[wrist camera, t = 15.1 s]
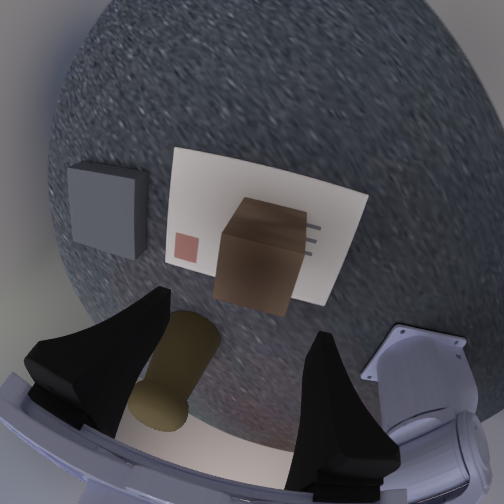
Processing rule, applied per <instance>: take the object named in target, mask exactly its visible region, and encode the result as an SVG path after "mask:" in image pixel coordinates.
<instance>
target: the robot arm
mask: <svg viewBox="0 0 504 504" xmlns="http://www.w3.org/2000/svg"><path fill="white" fill-rule="evenodd" d="M170 298H171V290H170V289H167V288H164V287H161V286H158V287H157V288H155V289H154V290H152V291H151V292H150V293H148V294H147V295H145V296H144V297H143V298H141V299H140V300H138V301H137V302H135V303H134V304H132V305H131V306H129V307H128V308H126V309H124V310H123V311H121V312H119V313H118V314H116V315H114V316H113V317H111V318H109V319H107V320H105V321H103V322H101V323H99V324H97V325H95V326H92V327H90V328H87V329H85V330H82V331H79V332H76V333H73V334H70V335H67V336H63V337H58V338H54V339H49V340H43V341H39V342H38V343H37V344H36V345H35V346H34V347H33V349H32V350H31V351H30V352H29V354H28V355H27V356H26V357H25V359H24V364H25V366H26V369H27V370H28V372H29V374H30V375H31V377H32V379H33V380H34V382H35V384H34V385H33V387H31V386H30V385H29V384H28V383H27V382H26V381H25V380H23V379H22V378H21V377H19V376H18V375H17V374H15V373H14V372H12V373H11V374H10V376H9V377H8V378H7V379H6V381H5V382H4V383H3V385H2V386H1V387H0V420H1V421H2V422H3V423H4V424H5V425H6V426H7V427H8V428H9V429H10V430H11V431H12V432H13V433H14V434H16V435H17V436H18V437H19V438H21V439H22V440H23V441H24V442H26V443H27V444H28V445H30V446H31V447H32V448H34V449H35V450H37V451H38V452H39V453H40V454H42V455H43V456H45V457H46V458H48V459H49V460H50V461H52V462H53V463H55V464H56V465H58V466H59V467H61V468H62V469H64V470H65V471H67V472H69V473H70V474H72V475H74V476H75V477H77V478H78V479H80V480H82V481H83V482H85V483H87V484H86V486H85V488H84V490H83V492H82V494H81V497H80V499H79V501H78V503H77V504H479V503H480V502H481V501H482V500H483V499H484V497H485V496H486V495H487V493H488V491H489V489H490V484H491V481H492V471H491V466H490V455H489V449H488V444H487V440H486V436H485V433H484V430H483V428H482V425H481V423H480V421H479V419H478V417H477V416H476V415H475V411H476V408H477V403H478V391H477V387H476V384H475V381H474V378H473V375H472V372H471V369H470V367H469V364H468V361H467V359H466V356H465V354H464V351H463V349H462V348H463V347H464V345H465V344H466V342H467V341H466V339H465V338H462V337H457V336H452V335H447V334H442V333H437V332H433V331H428V330H423V329H419V328H414V327H409V326H405V325H400V324H398V325H395V326H394V327H393V328H392V330H391V331H390V333H389V334H388V336H387V337H386V339H385V340H384V342H383V343H382V345H381V346H380V348H379V349H378V351H377V352H376V353H375V355H374V356H373V358H372V359H371V360H370V362H369V363H368V365H367V366H366V367H365V369H364V370H363V371H362V373H361V378H362V379H365V380H372V381H378V389H379V398H380V409H381V420H382V428H381V427H380V426H379V425H378V423H377V422H376V421H375V420H374V418H373V417H372V416H371V414H370V413H369V411H368V410H367V409H366V407H365V406H364V404H363V403H362V401H361V399H360V398H359V396H358V394H357V392H356V390H355V389H354V387H353V385H352V383H351V381H350V378H349V376H348V374H347V372H346V369H345V367H344V365H343V362H342V360H341V357H340V355H339V352H338V349H337V347H336V344H335V341H334V338H333V336H332V334H331V333H327V332H322V331H319V332H318V334H317V336H316V338H315V340H314V342H313V344H312V346H311V348H310V350H309V352H308V354H307V356H306V358H305V364H304V370H303V376H302V398H301V416H300V425H299V430H298V436H297V441H296V446H295V450H294V455H293V459H292V463H291V467H290V471H289V475H288V478H287V482H286V485H285V488H284V490H281V489H273V488H268V487H262V486H257V485H252V484H246V483H242V482H237V481H233V480H228V479H224V478H220V477H216V476H213V475H209V474H205V473H202V472H199V471H195V470H192V469H189V468H186V467H183V466H180V465H177V464H174V463H171V462H168V461H165V460H162V459H160V458H157V457H155V456H152V455H150V454H147V453H145V452H142V451H140V450H137V449H135V448H133V447H130V446H128V445H126V444H124V443H121V442H119V441H117V440H115V436H116V432H117V429H118V426H119V423H120V420H121V418H122V415H123V412H124V410H125V406H126V404H127V402H128V400H129V397H130V395H131V392H132V390H133V388H134V386H135V383H136V381H137V379H138V377H139V375H140V373H141V371H142V369H143V368H144V366H145V364H146V363H147V361H148V359H149V358H150V356H151V355H152V353H153V351H154V350H155V348H156V346H157V345H158V343H159V342H160V340H161V338H162V337H163V334H164V332H165V330H166V328H167V326H168V323H169V321H170ZM401 330H403V331H401ZM127 463H130V464H131V465H129V464H127ZM132 465H134V466H132ZM468 483H469V484H468ZM465 484H467V485H465ZM463 485H465V486H463ZM461 486H463V487H461ZM458 487H461V488H459V489H456V488H458ZM453 489H456V490H454V491H451V490H453ZM448 491H451V492H449V493H447V494H444V495H441V496H438V495H440V494H443V493H446V492H448ZM435 496H438V497H436V498H432V497H435ZM232 497H233V498H232ZM236 498H238V499H236ZM429 498H432V499H430V500H426V499H429ZM240 499H243V500H248V501H250V502H247V501H243V500H240ZM423 500H426V501H423ZM420 501H423V502H420ZM417 502H420V503H417Z"/></svg>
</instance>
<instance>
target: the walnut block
mask: <svg viewBox="0 0 504 504" xmlns="http://www.w3.org/2000/svg"><path fill="white" fill-rule="evenodd" d="M306 226H307V212H304V211H300V210H297V209H293V208H289V207H285V206H281V205H277V204H273V203H269V202H264V201H260V200H256V199H252V198H248V197H244V199H243V200H242V202H241V203H240V205H239V206H238V208H237V210H236V211H235V213H234V214H233V216H232V217H231V219H230V220H229V222H228V224H227V225H226V227H225V228H224V230H223V232H222V233H221V239H220V246H219V253H218V260H217V268H216V275H215V282H214V290H213V297H212V298H214V299H217V300H221V301H225V302H228V303H232V304H236V305H239V306H243V307H247V308H251V309H255V310H259V311H262V312H266V313H270V314H274V315H278V316H282V317H284V316H285V314H286V311H287V308H288V305H289V302H290V299H291V296H292V293H293V290H294V287H295V284H296V281H297V278H298V275H299V272H300V269H301V266H302V263H303V259H304V256H305V247H306Z"/></svg>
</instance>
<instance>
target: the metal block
mask: <svg viewBox="0 0 504 504" xmlns="http://www.w3.org/2000/svg"><path fill="white" fill-rule="evenodd" d="M67 174H68V193H69V206H70V217H71V226H72V235H73V241H75V242H78V243H81V244H84V245H87V246H90V247H93V248H96V249H99V250H102V251H105V252H108V253H111V254H115V255H118V256H121V257H124V258H127V259H130V260H134V261H135V260H136V259H137V258H138V257H139V256H140V255H141V254H142V253H143V252H144V251H145V250H146V249H147V196H148V175H149V172H147V171H141V170H135V169H130V168H124V167H118V166H112V165H105V164H99V163H92V162H85V161H82V162H79V163H77V164H75V165H72V166H70V167H68V168H67Z"/></svg>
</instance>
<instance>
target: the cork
mask: <svg viewBox="0 0 504 504" xmlns="http://www.w3.org/2000/svg"><path fill="white" fill-rule="evenodd" d="M220 340H221V338H220V334H219V332H218V330H217V328H216V327H215V325H213V324H212V323H211V322H210V321H209V320H208V319H206V318H205V317H203V316H201V315H199V314H197V313H194V312H190V311H177V312H173V313H171V314H170V321H169V323H168V326H167V328H166V330H165V332H164V334H163V337H162V338H161V340H160V342H159V343H158V345H157V346H156V348H155V350H154V353H153V355H152V358H151V361H150V364H149V366H148V369H147V372H146V375H145V378H144V380H142V381H139V382H137V383H136V384H135V386H134V388H133V390H132V392H131V395H130V397H129V400H128V402H127V403H128V408H129V411H130V412H131V413H132V415H133V416H134V417H135V418H136V419H137V420H138V421H140V422H141V423H143V424H145V425H146V426H148V427H150V428H153V429H155V430H159V431H164V432H172V431H176V430H177V429H179V428H180V427H181V426H183V424H184V423H185V422H186V420H187V417H188V408H189V405H188V402H187V400H188V398H189V396H190V394H191V393H192V391H193V389H194V388H195V386H196V384H197V383H198V381H199V379H200V378H201V376H202V374H203V372H204V371H205V369H206V367H207V366H208V364H209V362H210V360H211V359H212V357H213V355H214V354H215V352H216V350H217V348H218V347H219V345H220Z"/></svg>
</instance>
